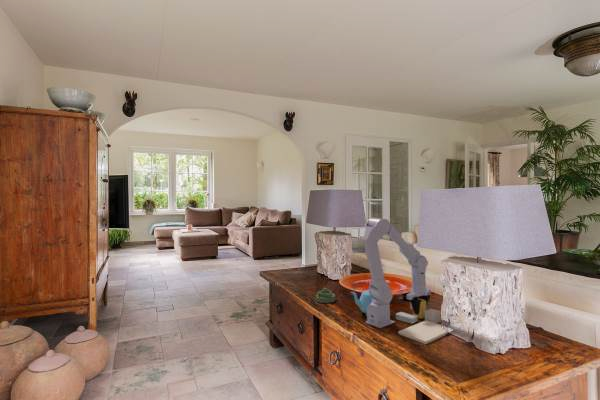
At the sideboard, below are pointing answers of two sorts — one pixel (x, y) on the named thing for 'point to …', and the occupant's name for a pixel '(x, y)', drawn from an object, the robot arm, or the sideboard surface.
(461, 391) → the sideboard surface
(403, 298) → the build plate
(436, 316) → the grey cube
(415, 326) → the cream board
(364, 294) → the teapot
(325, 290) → the decorative artifact
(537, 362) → the sideboard surface
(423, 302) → the mustard block
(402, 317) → the blue-grey slab
